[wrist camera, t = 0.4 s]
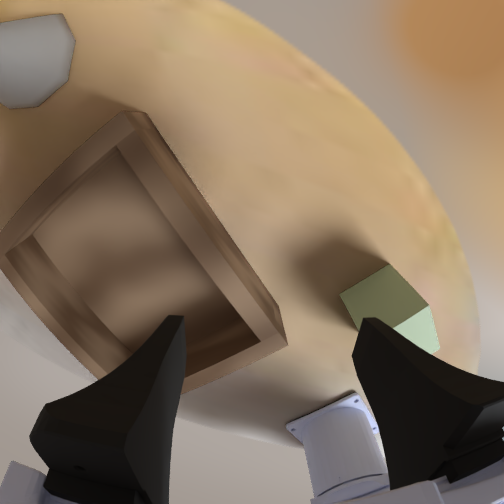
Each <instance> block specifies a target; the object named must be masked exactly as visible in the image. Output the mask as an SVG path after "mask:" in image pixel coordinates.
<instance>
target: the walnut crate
mask: <svg viewBox="0 0 504 504" xmlns="http://www.w3.org/2000/svg"><path fill="white" fill-rule="evenodd" d="M0 269H1V270H2V272H3V273H4V274H5V276H6V277H7V278H8V280H9V281H10V282H11V284H12V285H13V286H14V288H15V289H16V290H17V292H18V293H19V294H20V295H21V297H22V298H23V299H24V301H25V302H26V303H27V304H28V305H29V307H30V308H31V309H32V310H33V311H34V313H35V314H36V315H37V316H38V317H39V319H40V320H41V321H42V322H43V323H44V324H45V325H46V327H47V328H48V329H49V330H50V331H51V332H52V333H53V334H54V335H55V337H56V338H57V339H58V340H59V341H60V342H61V343H62V344H63V345H64V346H65V347H66V348H67V349H68V350H69V351H70V352H71V353H72V354H73V355H74V356H75V357H76V358H77V359H78V360H79V361H80V362H81V363H82V364H83V365H84V366H85V367H86V368H87V369H88V370H89V371H90V372H91V373H92V374H93V375H94V376H95V377H96V378H97V379H98V380H99V379H101V378H103V377H104V376H106V375H107V374H109V373H110V372H112V371H113V370H114V369H116V368H117V367H118V366H120V365H121V364H122V363H123V362H124V361H126V360H127V359H128V358H129V357H130V356H131V355H132V354H133V353H134V352H135V351H136V350H137V349H138V348H139V347H140V346H141V345H142V344H143V343H144V342H145V341H146V340H147V339H148V338H149V337H150V336H151V335H152V333H153V332H154V331H155V330H156V329H157V328H158V326H159V325H160V324H161V323H162V322H163V320H164V319H165V318H166V317H167V316H168V315H181V316H184V322H185V338H186V353H187V358H186V368H185V377H184V382H183V386H182V391H181V394H183V393H186V392H188V391H191V390H193V389H195V388H198V387H200V386H202V385H205V384H207V383H209V382H212V381H214V380H216V379H219V378H221V377H223V376H225V375H227V374H230V373H232V372H234V371H236V370H238V369H240V368H243V367H245V366H247V365H249V364H251V363H253V362H255V361H257V360H259V359H261V358H263V357H266V356H268V355H270V354H272V353H274V352H276V351H278V350H280V349H282V348H284V347H286V346H287V345H288V343H287V338H286V334H285V330H284V326H283V322H282V318H281V314H280V310H279V306H278V305H277V303H276V302H275V300H274V299H273V297H272V296H271V294H270V293H269V292H268V290H267V289H266V287H265V286H264V284H263V283H262V282H261V280H260V279H259V277H258V276H257V274H256V273H255V271H254V270H253V269H252V267H251V266H250V264H249V263H248V261H247V260H246V258H245V257H244V256H243V254H242V253H241V251H240V250H239V248H238V247H237V245H236V244H235V243H234V241H233V240H232V238H231V237H230V235H229V234H228V232H227V231H226V230H225V228H224V227H223V225H222V224H221V222H220V221H219V219H218V218H217V216H216V215H215V214H214V212H213V211H212V209H211V208H210V206H209V205H208V203H207V202H206V200H205V199H204V197H203V196H202V195H201V193H200V192H199V190H198V189H197V187H196V186H195V184H194V183H193V181H192V180H191V178H190V177H189V176H188V174H187V173H186V171H185V170H184V168H183V167H182V165H181V164H180V162H179V161H178V159H177V158H176V156H175V155H174V154H173V152H172V151H171V149H170V148H169V146H168V145H167V143H166V142H165V140H164V139H163V137H162V136H161V134H160V133H159V131H158V130H157V128H156V127H155V125H154V124H153V123H152V121H151V120H150V118H149V117H148V115H147V114H146V113H141V112H130V111H121V112H120V113H119V114H117V115H116V116H115V117H114V118H113V119H111V120H110V121H109V122H108V123H106V124H105V125H104V126H103V127H102V128H101V129H99V130H98V131H97V132H96V133H95V134H94V135H92V136H91V137H90V138H89V139H88V140H87V141H86V142H85V143H83V144H82V145H81V146H80V147H79V148H78V149H77V150H76V151H75V152H74V153H73V154H72V155H70V156H69V157H68V158H67V159H66V160H65V161H64V162H63V163H62V164H61V165H60V166H59V167H58V168H57V169H56V170H55V171H54V172H53V173H52V174H51V175H50V176H49V177H48V178H47V179H46V180H45V181H44V182H43V184H42V185H41V186H40V187H39V188H38V189H37V190H36V191H35V192H34V193H33V194H32V195H31V197H30V198H29V199H28V200H27V201H26V202H25V203H24V204H23V206H22V207H21V208H20V209H19V210H18V211H17V213H16V214H15V215H14V216H13V217H12V219H11V220H10V221H9V222H8V223H7V225H6V226H5V227H4V228H3V230H2V231H1V232H0Z"/></svg>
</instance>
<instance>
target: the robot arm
mask: <svg viewBox="0 0 504 504" xmlns="http://www.w3.org/2000/svg"><path fill="white" fill-rule="evenodd" d="M186 358H187V353H186V338H185V322H184V316H181V315H168V316H167V317H166V318H165V319H164V320H163V322H162V323H161V324H160V325H159V326H158V328H157V329H156V330H155V331H154V332H153V333H152V335H151V336H150V337H149V338H148V339H147V340H146V341H145V342H144V343H143V344H142V345H141V346H140V347H139V348H138V349H137V350H136V351H135V352H134V353H133V354H132V355H131V356H130V357H129V358H128V359H127V360H126V361H124V362H123V363H122V364H121V365H120V366H118V367H117V368H116V369H114V370H113V371H112V372H110V373H109V374H107V375H106V376H104V377H103V378H101V379H99V380H98V381H96V382H95V383H93V384H91V385H90V386H88V387H86V388H84V389H82V390H80V391H78V392H76V393H73V394H71V395H69V396H66V397H64V398H61V399H58V400H56V401H53V402H50V403H47V404H45V406H44V407H43V409H42V411H41V412H40V414H39V417H38V419H37V421H36V423H35V425H34V427H33V429H32V431H31V434H30V436H29V437H30V442H31V444H32V446H33V447H34V449H35V450H36V452H37V453H38V454H39V456H40V457H41V458H42V460H43V461H44V462H45V463H46V465H47V466H48V467H49V471H48V474H47V476H46V475H45V474H43V473H42V472H40V471H38V470H36V469H33V468H30V467H28V466H25V465H22V464H20V463H18V462H15V461H11V463H10V465H9V467H8V469H7V472H6V474H5V477H4V479H3V482H2V485H1V487H0V504H169V477H170V476H169V475H170V460H171V447H172V436H173V428H174V422H175V417H176V413H177V408H178V404H179V399H180V395H181V391H182V386H183V382H184V377H185V368H186ZM352 358H353V362H354V366H355V370H356V373H357V376H358V379H359V381H360V383H361V386H362V388H363V390H364V393H365V395H366V397H367V400H368V402H369V404H370V406H371V409H372V411H373V413H374V416H375V419H376V421H375V420H374V418H373V416H372V415H371V413H370V412H369V410H368V408H367V407H366V405H365V404H364V402H363V400H362V399H361V397H360V396H359V394H358V393H353V394H351V395H349V396H347V397H345V398H343V399H341V400H339V401H337V402H334V403H332V404H330V405H328V406H326V407H324V408H322V409H320V410H317V411H315V412H313V413H311V414H309V415H306V416H304V417H302V418H299V419H297V420H295V421H292V422H290V423H288V424H287V425H286V429H287V430H288V431H289V432H290V433H291V434H293V435H294V436H295V437H296V438H297V439H298V440H299V441H300V442H302V443H303V444H304V449H305V454H306V459H307V464H308V468H309V473H310V478H311V483H312V487H313V493H314V497H315V498H313V499H311V500H310V501H311V504H504V441H503V439H502V438H503V437H504V431H503V429H502V427H503V426H504V382H500V381H496V380H491V379H487V378H484V377H480V376H477V375H474V374H471V373H468V372H466V371H464V370H461V369H459V368H456V367H454V366H452V365H450V364H448V363H446V362H444V361H442V360H440V359H438V358H436V357H435V356H433V355H431V354H429V353H428V352H426V351H425V350H423V349H422V348H420V347H418V346H417V345H415V344H414V343H413V342H411V341H410V340H408V339H407V338H405V337H404V336H403V335H401V334H400V333H398V332H397V331H396V330H394V329H393V328H392V327H390V326H389V325H387V324H386V323H384V322H383V321H381V320H380V319H378V318H376V317H367V318H363V319H362V323H361V326H360V330H359V333H358V337H357V340H356V343H355V347H354V350H353V353H352ZM376 422H377V423H376ZM378 432H380V436H381V439H382V444H383V448H384V453H385V457H386V463H387V467H386V464H385V462H384V459H383V456H382V453H381V451H380V448H379V446H378V443H377V441H376V438H375V434H377V433H378Z"/></svg>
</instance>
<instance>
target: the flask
mask: <svg viewBox="0 0 504 504" xmlns="http://www.w3.org/2000/svg"><path fill="white" fill-rule="evenodd" d="M75 42H76V40H75V38H74V36H73V34H72V32H71V30H70V28H69V26H68V24H67V22H66V20H65V17H64V15H63V14H54V15H46V16H40V17H34V18H28V19H21V20H15V21H9V22H3V23H0V103H2V104H3V105H4V106H6V107H7V108H9V109H14V108H27V107H38V106H39V105H40V104H41V103H43V102H44V101H45V100H46V99H47V98H48V97H49V96H50V95H52V94H53V93H54V92H55V91H56V90H57V89H59V88H60V87H61V86H62V85H63V84H65V83H66V82H67V81H68V76H69V71H70V65H71V60H72V55H73V51H74V46H75Z"/></svg>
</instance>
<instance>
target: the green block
mask: <svg viewBox="0 0 504 504" xmlns="http://www.w3.org/2000/svg"><path fill="white" fill-rule="evenodd" d="M339 295H340V297H341V299H342V301H343V302H344V304H345V306H346V308H347V310H348V312H349V314H350V316H351V317H352V319H353V321H354V323H355V325H356V327H357V329H358V331H359V330H360V326H361V323H362V319H363V318H367V317H376V318H378V319H380V320H381V321H383V322H384V323H386V324H387V325H389V326H390V327H392V328H393V329H394V330H396V331H397V332H398V333H400V334H401V335H403V336H404V337H405V338H407V339H408V340H410V341H411V342H413V343H414V344H415V345H417V346H418V347H420V348H422V349H423V350H425V351H426V352H428V353H429V354H432V353H434V352H435V351H437V350H438V349H440V347H439V342H438V338H437V334H436V330H435V325H434V322H433V318H432V314H431V310H430V306H429V304H428V303H427V302H426V301H425V300H424V299H423V298H422V297H421V296H420V295H419V294H418V293H417V292H416V290H415V289H414V288H413V287H412V286H411V285H410V284H409V283H408V282H407V281H406V280H405V279H404V278H403V277H402V276H401V275H400V274H399V273H398V272H397V271H396V270H395V269H394V268H393V267H392V266H391V264H388V265H387V266H385V267H384V268H382V269H380V270H379V271H377V272H376V273H374V274H372V275H371V276H369V277H367V278H366V279H364V280H362V281H361V282H359V283H357V284H356V285H354V286H352V287H351V288H349V289H347V290H346V291H344V292H342V293H340V294H339Z"/></svg>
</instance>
